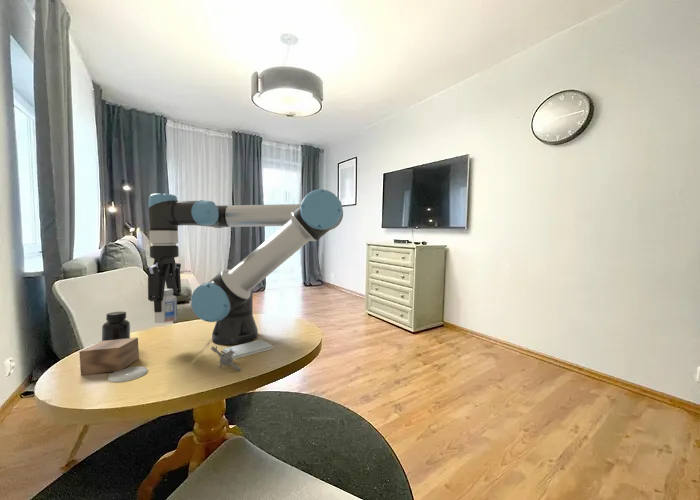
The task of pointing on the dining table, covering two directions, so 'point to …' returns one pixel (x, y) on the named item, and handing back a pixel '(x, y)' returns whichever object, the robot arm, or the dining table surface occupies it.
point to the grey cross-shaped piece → (226, 358)
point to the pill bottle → (170, 305)
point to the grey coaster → (127, 374)
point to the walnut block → (109, 356)
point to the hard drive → (248, 348)
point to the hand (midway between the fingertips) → (166, 319)
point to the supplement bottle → (116, 327)
